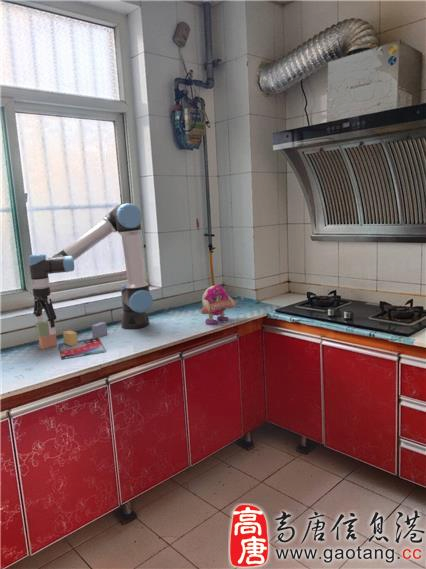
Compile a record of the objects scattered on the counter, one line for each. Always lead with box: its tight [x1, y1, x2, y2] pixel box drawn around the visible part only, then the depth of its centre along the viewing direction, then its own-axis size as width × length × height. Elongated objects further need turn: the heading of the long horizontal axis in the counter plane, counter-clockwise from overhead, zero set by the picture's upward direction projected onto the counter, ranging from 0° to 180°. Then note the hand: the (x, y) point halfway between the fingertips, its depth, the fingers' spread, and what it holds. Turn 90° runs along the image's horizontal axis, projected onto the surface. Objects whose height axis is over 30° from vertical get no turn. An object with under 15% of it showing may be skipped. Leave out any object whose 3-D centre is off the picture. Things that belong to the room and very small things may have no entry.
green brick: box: [34, 320, 50, 337], centre depth 206 cm, size 7×4×6 cm, turn 134°
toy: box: [200, 284, 238, 326], centre depth 232 cm, size 25×9×20 cm, turn 129°
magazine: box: [57, 337, 107, 361], centre depth 202 cm, size 19×25×1 cm
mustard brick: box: [62, 330, 79, 346], centre depth 209 cm, size 7×4×6 cm, turn 44°
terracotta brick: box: [37, 333, 58, 350], centre depth 208 cm, size 7×4×6 cm, turn 134°
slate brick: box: [90, 321, 108, 338], centre depth 221 cm, size 7×4×6 cm, turn 154°
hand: (46, 331), depth 207 cm, fingers open, 13 cm apart
